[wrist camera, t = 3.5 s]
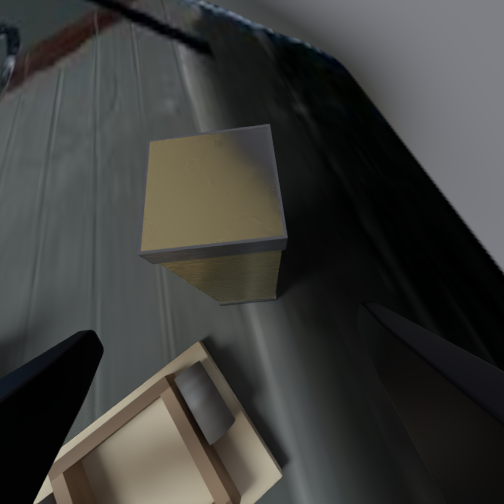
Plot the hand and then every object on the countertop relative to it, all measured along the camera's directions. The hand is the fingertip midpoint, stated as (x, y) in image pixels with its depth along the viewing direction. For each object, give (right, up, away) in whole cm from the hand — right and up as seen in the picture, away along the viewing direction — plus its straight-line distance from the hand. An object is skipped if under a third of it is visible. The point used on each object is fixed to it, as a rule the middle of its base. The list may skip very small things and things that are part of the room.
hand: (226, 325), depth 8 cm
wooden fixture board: (-6, -12, +8) cm, 16 cm away
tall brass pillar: (0, 0, +12) cm, 12 cm away
